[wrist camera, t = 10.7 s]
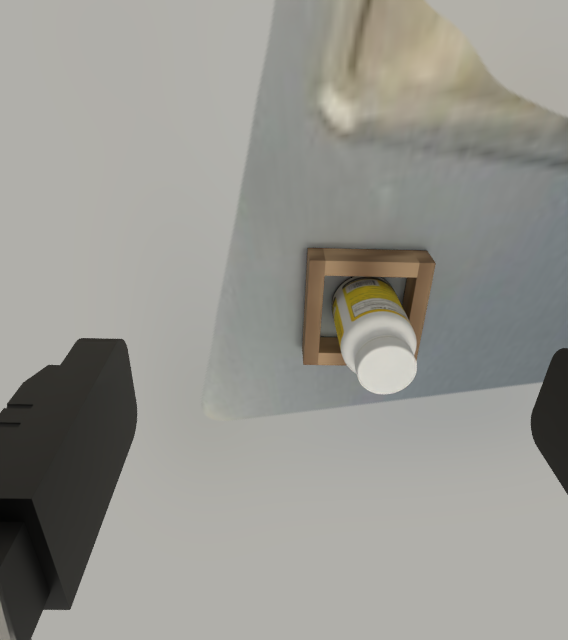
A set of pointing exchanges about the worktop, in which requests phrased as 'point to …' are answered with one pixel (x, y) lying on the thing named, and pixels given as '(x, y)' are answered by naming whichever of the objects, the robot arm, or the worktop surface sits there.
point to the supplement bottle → (374, 334)
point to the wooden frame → (367, 264)
